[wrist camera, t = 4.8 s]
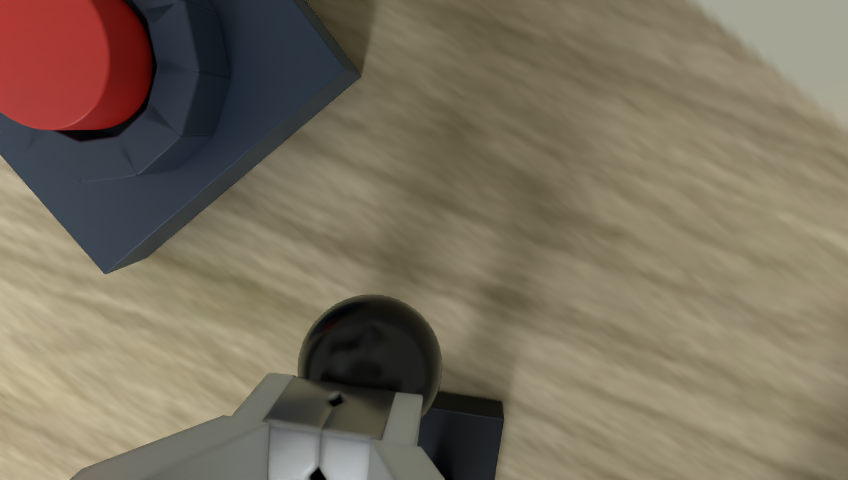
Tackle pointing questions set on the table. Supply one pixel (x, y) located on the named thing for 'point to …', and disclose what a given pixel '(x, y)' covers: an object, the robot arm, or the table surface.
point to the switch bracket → (462, 436)
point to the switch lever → (374, 348)
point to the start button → (72, 63)
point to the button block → (184, 122)
